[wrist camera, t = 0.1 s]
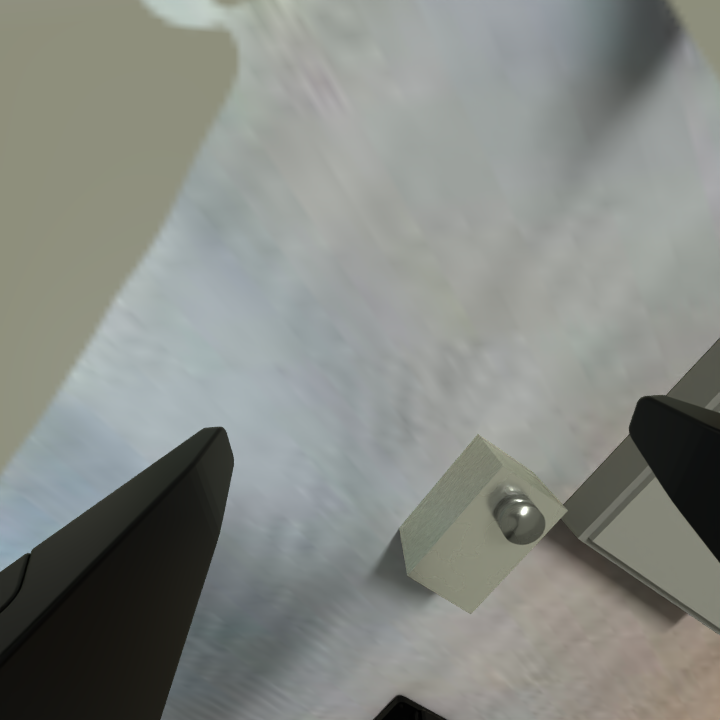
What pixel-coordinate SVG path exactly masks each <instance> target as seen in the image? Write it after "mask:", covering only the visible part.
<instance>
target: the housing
mask: <svg viewBox="0 0 720 720" xmlns="http://www.w3.org/2000/svg"><path fill="white" fill-rule="evenodd" d="M567 511H568V510H567V509H566V508H565V507H564V506H563V504H562V503H561V502H560V501H559V500H558V499H557V498H556V497H555V496H554V495H553V494H552V492H551V491H550V490H549V489H548V488H547V487H546V486H545V485H544V484H543V483H542V481H541V480H540V479H539V478H538V477H537V476H536V475H535V474H534V473H533V472H532V471H531V470H529V469H528V468H526V467H525V466H523V465H522V464H521V463H519V462H518V461H516V460H515V459H513V458H512V457H511V456H509V455H508V454H506V453H505V452H503V451H502V450H500V449H499V448H498V447H496V446H495V445H493V444H492V443H490V442H489V441H487V440H486V439H485V438H483V437H482V436H480V435H479V434H477V436H476V437H475V438H474V439H473V440H472V442H471V443H470V444H469V445H468V446H467V448H466V449H465V450H464V451H463V452H462V454H461V455H460V456H459V457H458V458H457V460H456V461H455V462H454V463H453V464H452V466H451V467H450V468H449V469H448V470H447V472H446V473H445V474H444V475H443V476H442V477H441V479H440V480H439V481H438V482H437V483H436V485H435V486H434V487H433V488H432V489H431V491H430V492H429V493H428V494H427V495H426V497H425V498H424V499H423V500H422V501H421V503H420V504H419V505H418V506H417V507H416V509H415V510H414V511H413V512H412V513H411V515H410V516H409V517H408V518H407V519H406V520H405V522H404V523H403V524H402V525H401V526H400V528H399V531H400V536H401V542H402V548H403V554H404V559H405V565H406V571H407V576H408V577H410V578H412V579H413V580H415V581H417V582H418V583H420V584H422V585H423V586H425V587H426V588H428V589H430V590H431V591H433V592H435V593H436V594H438V595H440V596H441V597H443V598H445V599H446V600H448V601H450V602H451V603H453V604H455V605H456V606H458V607H460V608H461V609H463V610H465V611H466V612H468V613H470V614H471V613H472V612H473V611H474V610H475V609H476V608H477V607H478V606H479V605H480V604H481V603H482V602H483V601H484V600H485V599H486V597H487V596H488V595H489V594H490V593H491V592H492V591H493V590H494V589H495V588H496V587H497V586H498V585H499V584H500V583H501V581H502V580H503V579H504V578H505V577H506V576H507V575H508V574H509V573H510V572H511V571H512V570H513V569H514V568H515V567H516V565H517V564H518V563H519V562H520V561H521V560H522V559H523V558H524V557H525V556H526V555H527V554H528V553H529V552H530V551H531V550H532V548H533V547H534V546H535V545H536V544H537V543H538V542H539V541H540V540H541V539H542V538H543V537H544V536H545V535H546V534H547V532H548V531H549V530H550V529H551V528H552V527H553V526H554V525H555V524H556V523H557V522H558V521H559V520H560V519H561V518H562V516H563V515H564V514H565V513H566V512H567Z"/></svg>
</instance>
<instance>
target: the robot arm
mask: <svg viewBox="0 0 720 720" xmlns="http://www.w3.org/2000/svg"><path fill="white" fill-rule="evenodd" d="M629 434H630V437H631V439H632V441H633V442H634V444H635V445H636V447H637V448H638V450H639V451H640V453H641V455H642V456H643V458H644V459H645V461H646V462H647V464H648V465H649V467H650V469H651V470H652V472H653V473H654V475H655V476H656V478H657V479H658V481H659V483H660V484H661V486H662V487H663V489H664V490H665V492H666V493H667V495H668V496H669V498H670V499H671V501H672V502H673V503H674V505H675V506H676V507H677V509H678V510H679V512H680V513H681V514H682V515H683V517H684V518H685V519H686V521H687V522H688V523H689V524H690V526H691V527H692V528H693V530H694V531H695V532H696V533H697V535H698V536H699V537H700V539H701V540H702V541H703V542H704V544H705V545H706V546H707V548H708V549H709V550H710V551H711V553H712V554H713V555H714V557H715V558H716V559H717V560H718V562H719V563H720V413H719V412H716V411H713V410H709V409H706V408H703V407H700V406H697V405H694V404H691V403H688V402H684V401H681V400H678V399H675V398H672V397H669V396H665V395H653V396H644V397H641V398H640V399H639V400H638V402H637V405H636V408H635V411H634V414H633V416H632V419H631V422H630V425H629ZM233 467H234V457H233V453H232V449H231V446H230V443H229V439H228V436H227V433H226V430H225V429H224V428H223V427H209V428H203V429H202V430H200V431H199V432H197V433H196V434H195V435H193V436H192V437H190V438H189V439H188V440H186V441H185V442H183V443H182V444H180V445H179V446H178V447H176V448H175V449H173V450H172V451H171V452H169V453H168V454H166V455H165V456H164V457H162V458H161V459H159V460H158V461H156V462H155V463H154V464H152V465H151V466H149V467H148V468H147V469H145V470H144V471H142V472H141V473H139V474H138V475H137V476H135V477H134V478H132V479H131V480H130V481H128V482H127V483H125V484H124V485H123V486H121V487H120V488H118V489H117V490H115V491H114V492H113V493H111V494H110V495H108V496H107V497H106V498H104V499H103V500H101V501H100V502H98V503H97V504H96V505H94V506H93V507H91V508H90V509H89V510H87V511H86V512H84V513H83V514H82V515H80V516H79V517H77V518H76V519H74V520H73V521H72V522H70V523H69V524H67V525H66V526H65V527H63V528H62V529H60V530H59V531H57V532H56V533H55V534H53V535H52V536H50V537H49V538H48V539H46V540H45V541H43V542H42V543H41V544H39V545H38V546H36V547H35V548H34V549H32V551H31V554H30V553H27V554H25V555H23V556H22V557H21V558H19V559H18V560H16V561H15V562H14V563H12V564H11V565H9V566H8V567H7V568H5V569H4V570H2V571H1V572H0V720H160V719H161V716H162V713H163V710H164V707H165V704H166V700H167V697H168V694H169V691H170V688H171V685H172V682H173V679H174V675H175V672H176V669H177V666H178V663H179V660H180V657H181V654H182V650H183V647H184V644H185V641H186V638H187V635H188V632H189V629H190V625H191V622H192V619H193V616H194V613H195V610H196V607H197V604H198V601H199V597H200V594H201V591H202V588H203V585H204V582H205V579H206V576H207V572H208V569H209V566H210V563H211V560H212V557H213V554H214V551H215V547H216V544H217V541H218V537H219V534H220V530H221V526H222V521H223V516H224V511H225V506H226V501H227V497H228V492H229V487H230V482H231V477H232V472H233ZM376 720H446V719H444V718H442V717H441V716H439V715H437V714H435V713H433V712H431V711H430V710H428V709H426V708H424V707H422V706H421V705H419V704H417V703H415V702H413V701H411V700H410V699H408V698H406V697H404V696H399V697H397V698H396V699H395V700H394V701H393V702H392V703H391V704H390V705H389V706H388V707H387V708H386V709H385V711H384V712H383V713H382V714H381V715H380V716H379V717H378V718H377V719H376Z"/></svg>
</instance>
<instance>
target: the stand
mask: <svg viewBox="0 0 720 720" xmlns="http://www.w3.org/2000/svg"><path fill="white" fill-rule="evenodd" d="M666 396H669V397H672V398H675V399H678V400H681V401H684V402H688V403H691V404H694V405H697V406H700V407H703V408H706V409H709V410H713V411H716V412H719V413H720V339H719V340H718V341H717V342H716V343H715V344H714V345H713V346H712V347H711V349H710V350H709V351H708V352H707V353H706V354H705V355H704V356H703V357H702V358H701V359H700V360H699V361H698V362H697V363H696V364H695V366H694V367H693V368H692V369H691V370H690V371H689V372H688V373H687V374H686V375H685V376H684V377H683V378H682V379H681V380H680V382H679V383H678V384H677V385H676V386H675V387H674V388H673V389H672V390H671V391H670V392H669V393H668V394H667V395H666ZM563 506H564V507H565V508H566V509H567V510H568V511H567V512H566V513H565V514H564V515H563V516H562V518H561V520H562V521H563V522H564V523H565V524H566V525H567V527H568V528H569V529H570V530H571V531H572V532H573V534H574V535H575V536H576V537H577V538H578V539H579V540H581V541H582V542H584V543H585V544H586V545H588V546H589V547H591V548H592V549H594V550H595V551H597V552H598V553H600V554H601V555H603V556H604V557H606V558H607V559H608V560H610V561H611V562H613V563H614V564H616V565H617V566H619V567H620V568H622V569H623V570H625V571H626V572H628V573H629V574H631V575H632V576H633V577H635V578H636V579H638V580H639V581H641V582H642V583H644V584H645V585H647V586H648V587H650V588H651V589H653V590H654V591H655V592H657V593H658V594H660V595H661V596H663V597H664V598H666V599H667V600H669V601H670V602H672V603H673V604H675V605H676V606H678V607H679V608H680V609H682V610H683V611H685V612H686V613H688V614H689V615H691V616H692V617H694V618H695V619H697V620H698V621H700V622H701V623H702V624H704V625H705V626H707V627H708V628H710V629H711V630H713V631H714V632H716V633H717V634H719V635H720V563H719V562H718V560H717V559H716V558H715V557H714V555H713V554H712V553H711V551H710V550H709V549H708V548H707V546H706V545H705V544H704V542H703V541H702V540H701V539H700V537H699V536H698V535H697V533H696V532H695V531H694V530H693V528H692V527H691V526H690V524H689V523H688V522H687V521H686V519H685V518H684V517H683V515H682V514H681V513H680V512H679V510H678V509H677V507H676V506H675V505H674V503H673V502H672V501H671V499H670V498H669V496H668V495H667V493H666V492H665V490H664V489H663V487H662V486H661V484H660V483H659V481H658V479H657V478H656V476H655V475H654V473H653V472H652V470H651V469H650V467H649V465H648V464H647V462H646V461H645V459H644V458H643V456H642V455H641V453H640V451H639V450H638V448H637V447H636V445H635V444H634V442H633V441H632V439H631V437H630V435H629V436H628V437H627V438H626V439H625V440H624V441H623V442H622V443H621V444H620V445H619V447H618V448H617V449H616V450H615V451H614V452H613V453H612V454H611V455H610V456H609V457H608V458H607V459H606V460H605V461H604V462H603V464H602V465H601V466H600V467H599V468H598V469H597V470H596V471H595V472H594V473H593V474H592V475H591V476H590V477H589V478H588V480H587V481H586V482H585V483H584V484H583V485H582V486H581V487H580V488H579V489H578V490H577V491H576V492H575V493H574V494H573V496H572V497H571V498H570V499H569V500H568V501H567V502H566V503H565V504H564V505H563Z"/></svg>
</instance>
